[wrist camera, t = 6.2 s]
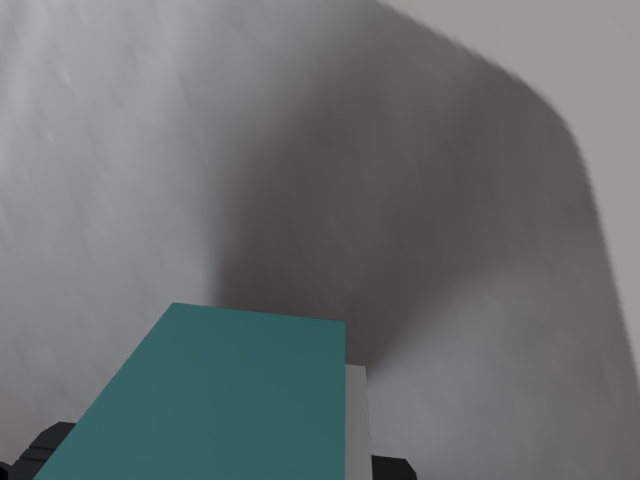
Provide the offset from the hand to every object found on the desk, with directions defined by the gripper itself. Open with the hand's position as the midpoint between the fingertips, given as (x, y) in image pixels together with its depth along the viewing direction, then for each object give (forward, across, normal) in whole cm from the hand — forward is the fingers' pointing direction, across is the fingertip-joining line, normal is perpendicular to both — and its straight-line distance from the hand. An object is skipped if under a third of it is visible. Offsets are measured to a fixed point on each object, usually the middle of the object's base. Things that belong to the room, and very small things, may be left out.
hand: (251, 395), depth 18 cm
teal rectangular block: (0, 0, 0) cm, 0 cm away
